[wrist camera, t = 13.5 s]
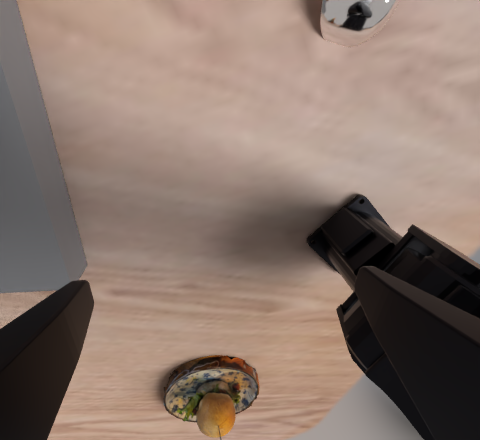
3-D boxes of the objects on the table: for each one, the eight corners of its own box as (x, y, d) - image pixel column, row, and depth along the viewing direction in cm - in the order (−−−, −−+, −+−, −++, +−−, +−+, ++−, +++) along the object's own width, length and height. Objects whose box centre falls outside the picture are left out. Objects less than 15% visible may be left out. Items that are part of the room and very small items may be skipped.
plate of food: (148, 399, 33) (135, 477, 26) (193, 342, 29) (192, 416, 23) (226, 414, 37) (232, 484, 31) (275, 366, 34) (293, 435, 27)
